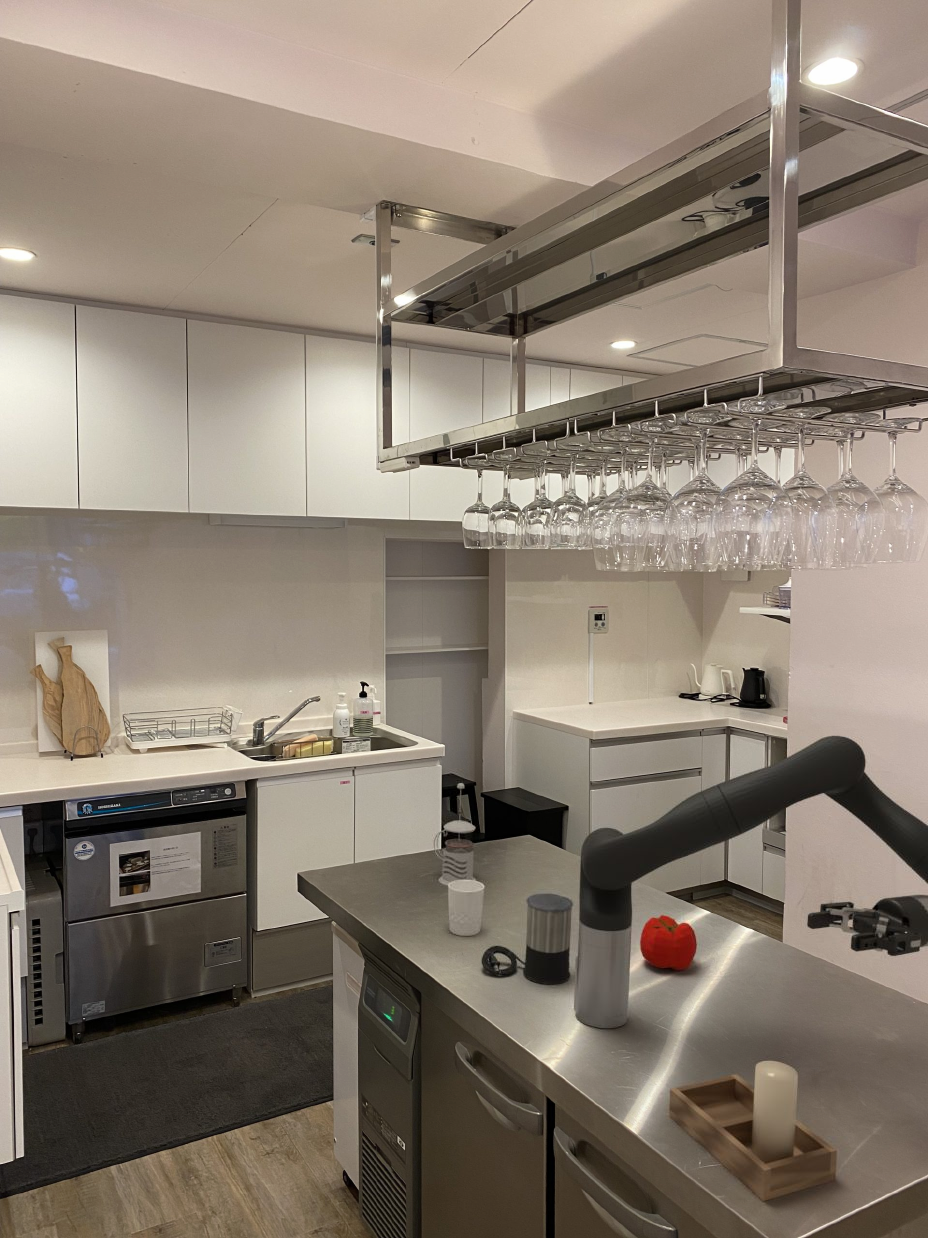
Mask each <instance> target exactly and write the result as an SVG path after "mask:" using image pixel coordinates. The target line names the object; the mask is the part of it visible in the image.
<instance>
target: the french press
mask: <svg viewBox="0 0 928 1238" xmlns="http://www.w3.org/2000/svg"><path fill="white" fill-rule="evenodd" d="M456 788H457V789H459V790H460V791H459V792H460V793H459V811H461V807H462V804H461V802H462V789H465V784H464V783H463V782H461V783H459V782H458V784H457V786H456ZM443 828H444V829H443V830H441V831H439V832H438V833H437V834H435V837H434V838H433V839H434V840H433V849H434V852H435V854H436V855H437V857H438V858H439V859H441V860H442V870H441V871H442V872H441V873H442V875H441V876H440V877H439V878H438V882H439V883H440V884H442V885H444V886H447V887H448V884H449V883H451V882H453V881H457V880H473V881H477V878H475V877H474V876H473V875H474V855H475V854H474V850H475V849H474V847H472V846H473V845H474V843H473V842H472V841H471V840H469V839H462V838H460V837H461V836H460V834H467V833H472V832H474V831H475V830H476V825H473V824H472V823H471V822H469V821H466V820H461V815H459V820H452V821H450V822H447V823H446V824H444V825H443ZM445 831H446V832H445ZM448 832H449V833H450V832H451V833H453V834H454V833H455V834H458V838H453V839H447V840H445V842H444V844H445V847H443V850H442V852H443V853H442V852H441V851H440V848H439V837H440V834H442V833H443V837H447V835H448ZM435 843H436V844H435ZM436 849H437V850H436ZM459 849H460V850H459ZM456 850H459V851H456ZM462 850H464V851H462ZM437 851H438V853H439V854H440V856H439V855H438V853H437Z"/></svg>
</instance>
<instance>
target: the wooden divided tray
mask: <svg viewBox="0 0 928 1238" xmlns="http://www.w3.org/2000/svg"><path fill="white" fill-rule="evenodd" d="M754 1087H755V1086H752V1085H751V1084H750V1083H749V1082H748V1081H746V1080H744V1078H742V1077H741V1076H739V1075H738V1074H736V1073H735V1074H731V1075H727V1076H723V1077H718V1078H714V1079H708V1080H704V1081H700V1082H695V1083H692V1084H687V1085H683V1086H677V1087H674V1088H670V1090H669V1107H668V1108H669V1109H668V1110H669V1111H668V1116H669V1117H670V1118H671V1119H672V1120H673V1121H674V1122H675V1123H677V1125H679V1126H680V1127H681V1128H682V1129H683V1130H684V1131H685V1132H686V1133H687V1134H689V1135H690V1137H692V1138H693V1139H694V1140H695V1141H696V1142H698V1143H699V1145H700V1146H702V1147H703V1148H704V1149H705V1150H706V1151H707V1152H708V1153H709V1154H711V1156H713V1158H715V1159H716V1160H717V1161H718V1162H719V1163H721V1164H722V1165H723V1166H724V1167H725V1168H727V1169H728V1172H729V1171H730V1173H732V1175H734V1176H735V1177H736V1178H737V1179H738V1180H739V1181H740V1182H742V1184H744V1185H745V1186H746V1187H747V1188H748V1189H749V1190H750V1191H751V1192H753V1193H754V1194H755V1195H756V1196H757V1197H758V1198H759V1199H760V1200H761V1201H763V1202H765V1201H769V1200H772V1199H775V1198H778V1197H781V1196H785V1195H788V1194H793V1193H795V1192H796V1193H797V1192H799V1191H803V1190H805V1189H808V1188H809V1189H810V1188H812V1187H815V1186H818V1185H823V1184H825V1183H830V1182H833V1181H836V1171H837V1156H838V1155H837V1153H838V1150H837V1149H836V1148H835V1147H833V1146H832V1145H831V1144H829V1143H828V1142H826V1140H824V1139H823V1138H821V1137H820V1136H819V1135H817V1134H816V1133H815V1132H814V1131H812V1130H811V1129H809V1128H808V1127H807V1126H805V1125H804V1124H803V1123H801V1122H800V1121H799V1120H798V1119H796V1122H795V1141H794V1156H793V1157H789V1158H786V1159H782V1160H779V1161H775V1162H771V1163H768V1164H765V1163H764V1162H763V1161H761V1160H760V1159H759V1158H758V1157H757V1156H755V1155H754V1154H753V1153H752V1152H751V1147H752V1127H753V1107H754Z"/></svg>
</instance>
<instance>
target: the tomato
mask: <svg viewBox="0 0 928 1238" xmlns="http://www.w3.org/2000/svg"><path fill="white" fill-rule="evenodd" d="M639 947H640V952H641V956H642V958H643V959H644V960H646V962H648V963H649V964H650V965H651V966H654V967H655V968H659V969H666V968H670V969H672V970H674V971H683V970H686V969H688V968H689V967H690V966H691V965H692V961H693V960H694V958H695V956H696V952H697V947H698V943H697V936H696V933H695V930H694V929H693V928H692V926H691V925H690V924H689V923H688V922H681V923H679V924H678V922H677V921H676V920H675V918H672V917H671V916H668V915H664V914H661V915H660V916H659V917H653V916H652V917H650V918H649V919H648V921H646V923H645V924H644V927H643V928H642V931H641V935H640V941H639Z"/></svg>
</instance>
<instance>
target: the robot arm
mask: <svg viewBox="0 0 928 1238" xmlns="http://www.w3.org/2000/svg"><path fill="white" fill-rule="evenodd" d="M866 761H867V760H866V755H865V752H864V749H862V747H861V746H860V745H859V744H858V743H857V741H855V740H853V739H851V738H849V737H846V736H842V735H828V736H825V737H822V738H820V739H818V740H816V741H814V742H813V743H811V744H809V745H807V746H806V747H804V748H802V749H800V750H799V751H796V752H794V753H793V754H791V755H789V756H788V757H786V758H784V759H782V760H780V761H778V762H775V763H774V764H772V765H768V766H766V767H761V768H759V769H756V770H752V771H750V772H747V773H744V774H742V775H739V776H736V777H733V778H730V779H728V780H726V781H723V782H719V783H717V784H715V785H712V786H710V787H708V788H706V789H703V790H700V791H699V792H696V793H695V794H693V795H690V796H689V797H687V798H686V799H683V800H682V801H681V802H680V803H678V804H677V805H676V806H674V807H673V808H672V809H671V810H669V811H668V812H667V813H665V814H663V815H662V816H661V817H660V818H658V819H657V820H655V821H653V822H652V823H650V824H648V825H646V826H643V827H641V828H638V829H636V830H633V831H629V832H628V833H623V832H621V831H620V830H618V829H616V828H612V827H601V828H597V829H595V830H593V831H592V832H590V833H589V834H588V835H587V836H586V837H585V839H584V840H583V842H582V844H581V845H582V846H581V850H580V865H579V866H580V867H579V869H580V872H579V894H578V895H579V896H578V897H579V905H578V906H579V907H578V908H579V911H578V912H579V919H578V941H577V942H578V944H577V945H578V946H577V947H578V948H577V956H576V957H575V969H574V970H575V971H574V972H575V973H574V995H573V1009H575V1013H574V1014H575V1017H576V1018H577V1020H579V1021H580V1022H581V1023H583V1024H585V1025H587V1026H590V1027H594V1028H599V1029H600V1028H601V1029H613V1028H618V1027H621V1026H624V1025H625V1024H626V1023H627V1022H628V1015H629V1014H628V1012H629V997H630V996H629V995H630V994H629V993H630V992H629V991H630V973H631V971H630V970H631V953H632V952H631V949H632V948H631V947H632V925H633V924H632V923H633V902H632V901H633V900H632V899H633V898H632V884H633V883H634V882H636V881H637V880H640V879H641V878H643V877H644V876H646V875H648V874H650V873H651V872H654V871H656V870H658V869H659V868H661V867H663V866H666V865H667V864H669V863H671V862H675V861H676V860H680V859H682V858H685V857H688V856H691V855H693V854H695V853H698V852H700V851H703V850H706V849H708V848H710V847H713V846H716V845H719V844H721V843H724V842H727V841H729V840H731V839H734V838H736V837H738V836H740V835H743V834H745V833H747V832H749V831H751V830H753V829H755V828H756V827H759V826H760V825H762V824H764V823H765V822H767V821H768V820H770V819H772V818H773V817H775V816H777V815H778V814H779V813H781V812H783V811H785V810H786V809H787V808H789V807H791V806H793V805H795V804H797V803H799V802H802V801H804V800H806V799H811V798H813V797H816V796H819V795H822V794H824V795H826V796H827V797H828V798H830V799H831V800H832V801H834V802H835V803H837V804H839V805H840V806H841V807H842V808H844V809H845V810H847V811H848V812H849V813H850V814H852V815H853V816H855V818H857V820H859V821H860V822H862V824H864V825H865V826H866V827H868V828H869V830H871V831H872V832H873V833H875V835H876V836H877V837H879V839H881V841H883V842H884V843H885V844H886V845H887V846H888V847H889V848H890V849H891V850H892V851H893V852H894V853H895V854H896V855H897V856H898V857H899V858H900V859H901V860H902V861H903V862H904V863H905V864H906V865H907V866H908V867H909V868H911V870H913V872H914V873H916V874H917V875H918V876H919V877H920V878H921V879H922V881H924V882H925V883H926V884H927V885H928V824H926V823H925V822H923V820H921V819H919V818H918V817H917V816H915V815H913V814H912V813H911V812H909V811H908V810H906V809H904V808H903V807H901V806H900V805H899V804H898V803H897V802H895V801H894V800H892V799H891V798H890V797H889V796H888V795H887V794H886V793H884V792H883V791H882V790H881V788H879V787H878V786H877V785H876V784H875V783H874V782H873V780H872V779H871V778H870V777H869V776H868V774H867V773H866V772H865V769H866V763H867V762H866ZM819 906H820V907H819V909H820V910H819V911H817V912H810V913H808V915H807V924H806V925H807V927H808V928H809V929H811V930H817V929H825V928H836V929H841V930H842V932H843V933H847V934H848V933H849V934H852V935H851V939H850V949H851V950H852V951H854V952H863V951H870V950H875V951H876V952H884V951H887V952H886V953H887V955H889V956H890V957H897V956H898V957H899V956H903V955H907V954H912V953H918V952H920V950H921V948H926V947H928V894H912V895H911V894H910V895H902V896H895V897H894V896H893V897H885V898H882V899H880V900H878V901H877V902H876V903H875V905H874V906H873V907H872V908H864V907H863V908H855V903H854V902H852V901H843V902H842V901H841V902H829V903H821V904H820V905H819ZM849 921H852V926H848V925H849Z"/></svg>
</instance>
